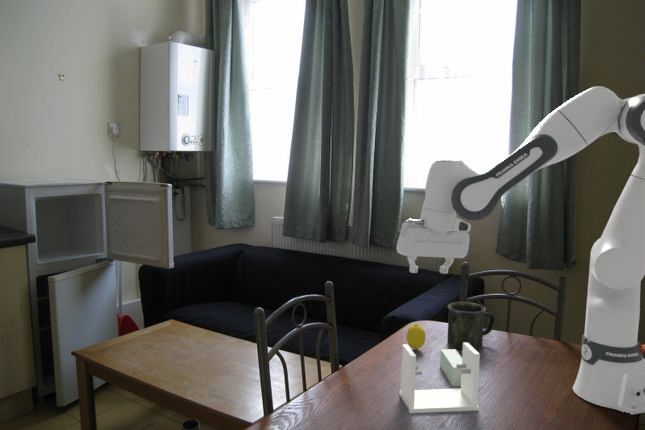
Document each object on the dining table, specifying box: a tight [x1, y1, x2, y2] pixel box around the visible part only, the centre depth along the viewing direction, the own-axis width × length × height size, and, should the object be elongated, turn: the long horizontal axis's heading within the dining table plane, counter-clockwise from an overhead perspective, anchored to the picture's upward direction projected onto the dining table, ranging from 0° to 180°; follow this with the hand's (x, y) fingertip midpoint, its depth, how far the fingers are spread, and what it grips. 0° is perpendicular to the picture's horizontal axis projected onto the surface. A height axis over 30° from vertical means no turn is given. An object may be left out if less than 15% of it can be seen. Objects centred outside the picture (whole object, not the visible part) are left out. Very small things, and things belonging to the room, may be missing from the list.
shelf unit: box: [399, 343, 481, 414], centre depth 119 cm, size 16×9×13 cm, turn 96°
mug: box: [447, 301, 495, 351], centre depth 156 cm, size 11×15×12 cm
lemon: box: [406, 323, 426, 351], centre depth 151 cm, size 6×6×8 cm
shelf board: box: [439, 348, 462, 387], centre depth 134 cm, size 12×4×5 cm, turn 2°
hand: (428, 272), depth 134 cm, fingers open, 8 cm apart
